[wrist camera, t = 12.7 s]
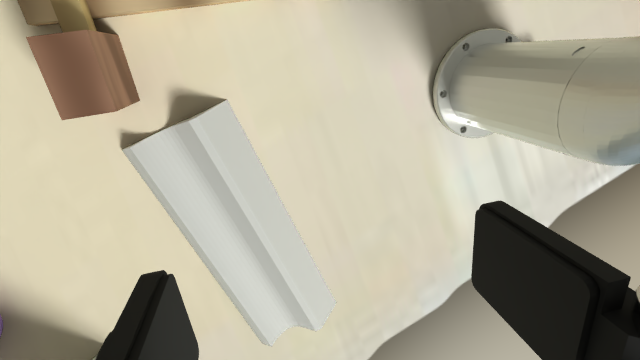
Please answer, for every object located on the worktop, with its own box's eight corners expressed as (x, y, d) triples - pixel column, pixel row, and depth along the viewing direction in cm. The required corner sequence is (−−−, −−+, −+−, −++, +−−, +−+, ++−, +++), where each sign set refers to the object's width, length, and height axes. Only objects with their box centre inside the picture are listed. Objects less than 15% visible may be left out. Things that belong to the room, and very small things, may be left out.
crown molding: (126, 146, 35) (114, 155, 31) (230, 97, 35) (229, 101, 32) (262, 337, 47) (264, 358, 44) (337, 298, 48) (345, 316, 45)
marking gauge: (76, -91, 27) (26, -136, 21) (140, 100, 33) (116, 111, 27) (21, -87, 27) (-47, -133, 20) (96, 107, 32) (61, 120, 26)
